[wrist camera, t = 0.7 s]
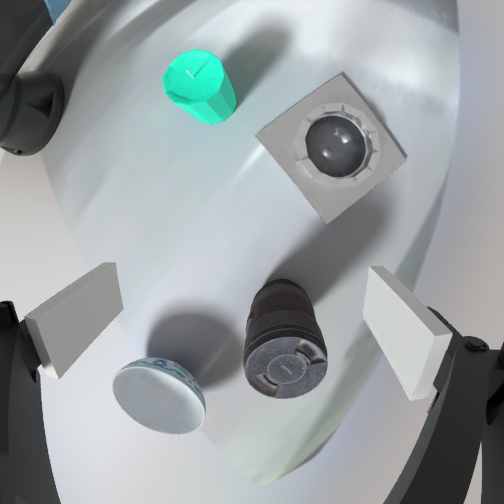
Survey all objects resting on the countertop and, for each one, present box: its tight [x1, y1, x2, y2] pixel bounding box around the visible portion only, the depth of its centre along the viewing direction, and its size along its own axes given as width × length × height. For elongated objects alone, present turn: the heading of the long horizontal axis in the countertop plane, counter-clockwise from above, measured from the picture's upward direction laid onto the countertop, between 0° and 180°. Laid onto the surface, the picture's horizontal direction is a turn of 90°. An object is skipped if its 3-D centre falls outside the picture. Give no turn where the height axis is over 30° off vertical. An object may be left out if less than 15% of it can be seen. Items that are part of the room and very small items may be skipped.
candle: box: [162, 49, 237, 124], centre depth 26 cm, size 6×6×12 cm
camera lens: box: [243, 279, 328, 399], centre depth 31 cm, size 8×8×15 cm
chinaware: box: [112, 358, 206, 435], centre depth 40 cm, size 15×15×8 cm
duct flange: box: [255, 74, 406, 225], centre depth 31 cm, size 14×14×3 cm
